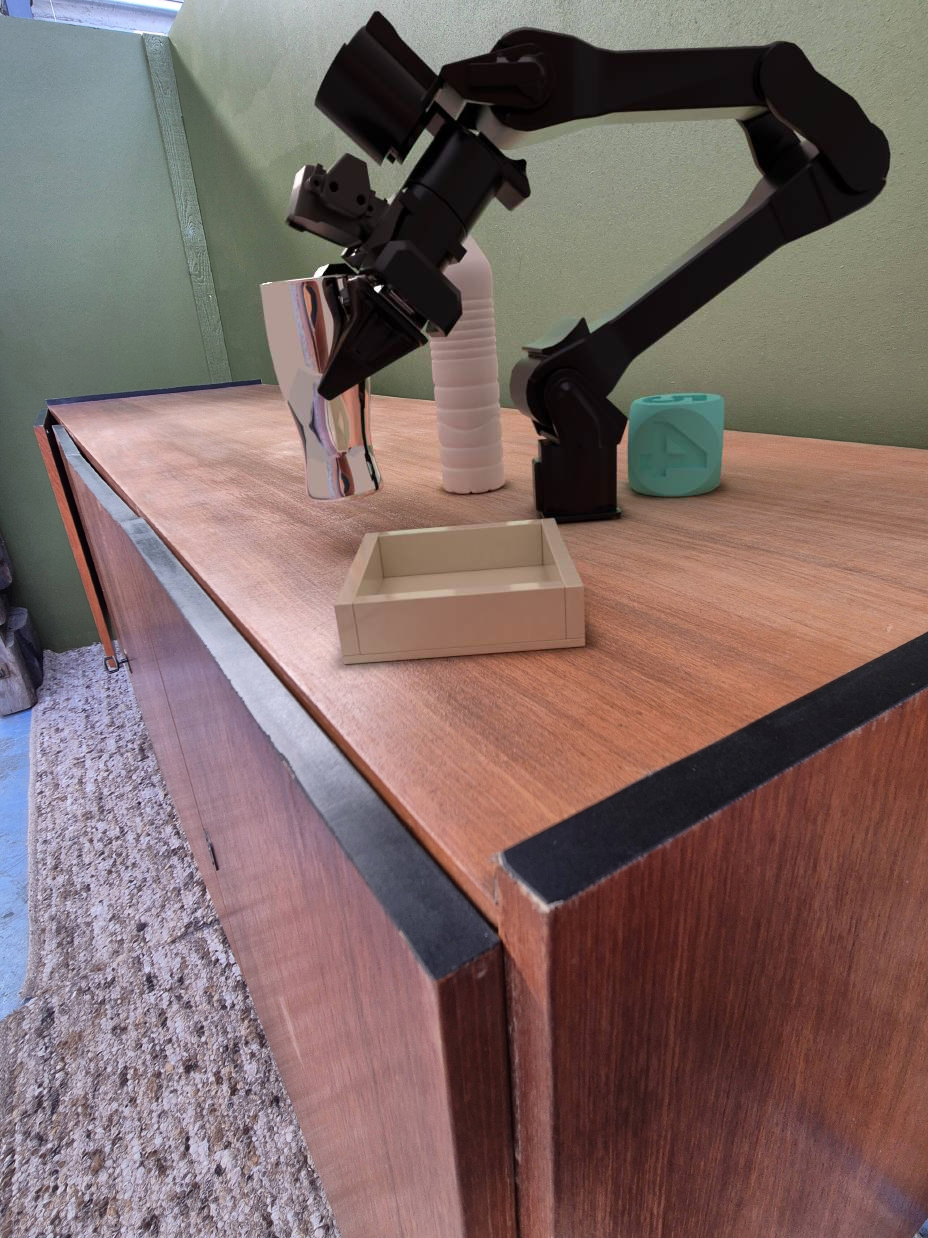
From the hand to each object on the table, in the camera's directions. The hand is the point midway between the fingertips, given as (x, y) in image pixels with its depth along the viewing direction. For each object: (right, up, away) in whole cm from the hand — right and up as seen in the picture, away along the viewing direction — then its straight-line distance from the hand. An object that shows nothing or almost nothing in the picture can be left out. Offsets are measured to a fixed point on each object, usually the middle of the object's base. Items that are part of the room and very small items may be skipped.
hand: (310, 393), depth 52 cm
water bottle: (+11, -3, +23) cm, 25 cm away
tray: (+11, -16, -8) cm, 21 cm away
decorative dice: (+31, -4, +16) cm, 35 cm away
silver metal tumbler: (+2, -7, +4) cm, 8 cm away
